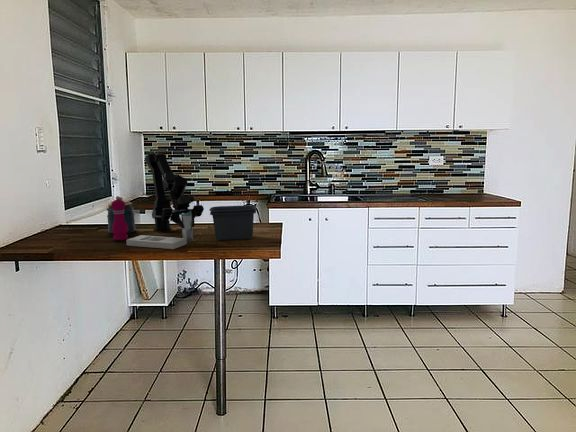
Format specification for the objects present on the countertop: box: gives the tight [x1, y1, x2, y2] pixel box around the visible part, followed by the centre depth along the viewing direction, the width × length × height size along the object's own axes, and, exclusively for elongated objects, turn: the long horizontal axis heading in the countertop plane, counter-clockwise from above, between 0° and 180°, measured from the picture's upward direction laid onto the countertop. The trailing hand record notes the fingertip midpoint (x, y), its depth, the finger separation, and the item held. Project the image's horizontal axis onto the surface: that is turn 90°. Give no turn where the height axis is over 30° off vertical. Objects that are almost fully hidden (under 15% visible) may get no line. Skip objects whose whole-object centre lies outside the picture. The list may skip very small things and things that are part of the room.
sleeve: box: [180, 212, 194, 243], centre depth 206 cm, size 5×5×13 cm
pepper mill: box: [111, 195, 129, 241], centre depth 213 cm, size 7×7×20 cm
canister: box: [106, 196, 136, 235], centre depth 230 cm, size 13×13×18 cm
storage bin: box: [208, 205, 257, 241], centre depth 213 cm, size 21×16×14 cm
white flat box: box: [125, 234, 188, 250], centre depth 201 cm, size 24×10×3 cm, turn 70°
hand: (188, 227), depth 205 cm, fingers closed on sleeve, 5 cm apart
